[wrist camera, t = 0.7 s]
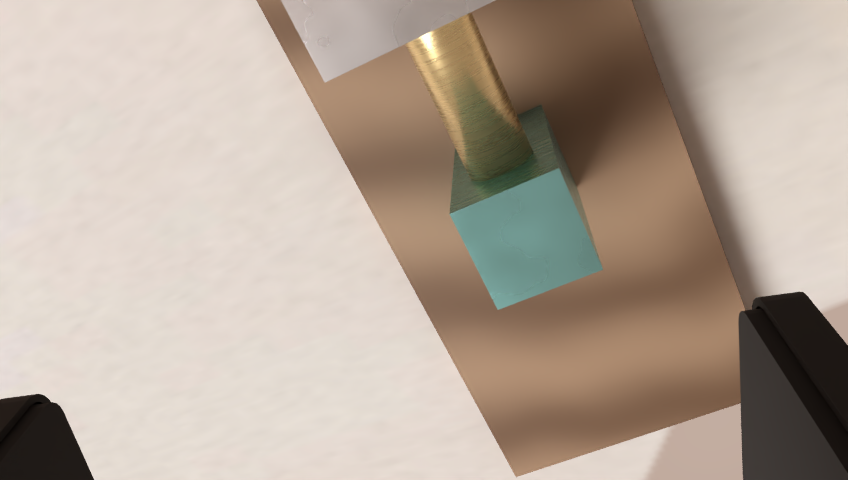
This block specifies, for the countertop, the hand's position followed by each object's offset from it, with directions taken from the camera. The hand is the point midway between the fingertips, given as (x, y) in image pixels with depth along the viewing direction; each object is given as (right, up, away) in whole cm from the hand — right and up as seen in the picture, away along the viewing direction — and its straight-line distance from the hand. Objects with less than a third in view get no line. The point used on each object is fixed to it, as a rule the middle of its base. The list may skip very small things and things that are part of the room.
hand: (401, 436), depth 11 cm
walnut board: (+3, +7, +20) cm, 22 cm away
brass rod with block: (+1, +11, +17) cm, 21 cm away
